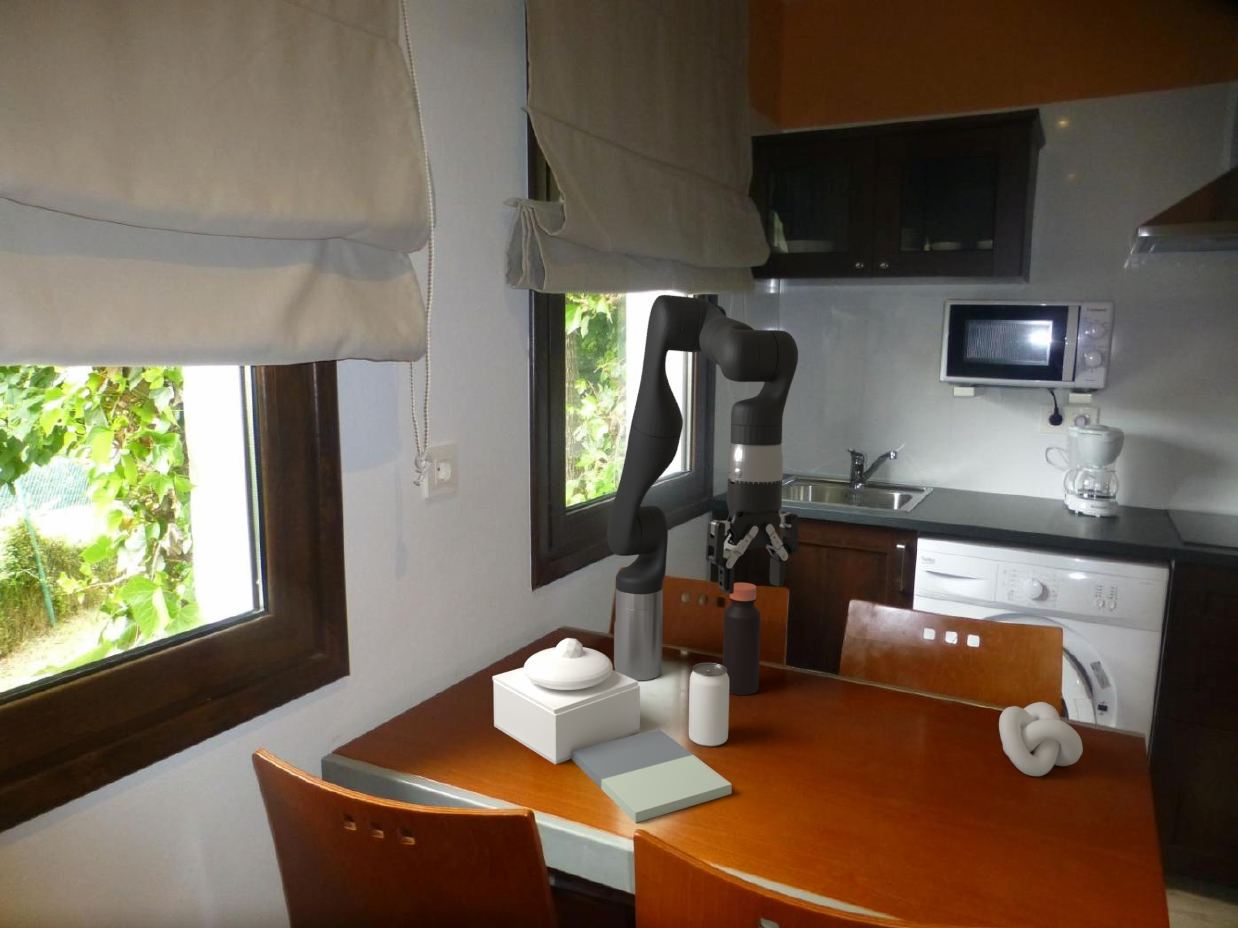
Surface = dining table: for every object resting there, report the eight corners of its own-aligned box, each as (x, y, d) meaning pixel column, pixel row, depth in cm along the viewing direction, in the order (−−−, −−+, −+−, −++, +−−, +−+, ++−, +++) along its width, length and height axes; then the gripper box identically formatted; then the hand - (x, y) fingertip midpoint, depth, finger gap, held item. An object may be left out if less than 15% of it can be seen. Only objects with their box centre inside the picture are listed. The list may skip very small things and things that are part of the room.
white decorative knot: (1038, 792, 124) (1043, 734, 122) (972, 756, 134) (976, 702, 133) (1090, 775, 128) (1095, 719, 127) (1022, 742, 139) (1026, 690, 138)
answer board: (571, 759, 132) (571, 750, 132) (659, 737, 140) (659, 728, 140) (635, 822, 115) (635, 812, 115) (731, 793, 123) (731, 783, 122)
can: (727, 730, 143) (729, 662, 141) (728, 748, 136) (730, 677, 135) (688, 728, 143) (690, 660, 142) (688, 746, 137) (689, 675, 135)
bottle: (732, 678, 165) (735, 578, 162) (764, 687, 161) (767, 585, 158) (715, 690, 159) (718, 587, 156) (748, 699, 155) (751, 593, 153)
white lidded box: (555, 765, 131) (555, 667, 129) (492, 725, 144) (491, 636, 142) (639, 732, 142) (640, 641, 140) (573, 698, 156) (573, 614, 153)
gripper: (778, 468, 124) (775, 576, 126) (697, 475, 117) (694, 588, 120) (813, 475, 117) (808, 589, 120) (728, 483, 111) (725, 602, 113)
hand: (751, 588), depth 120 cm, fingers open, 8 cm apart
